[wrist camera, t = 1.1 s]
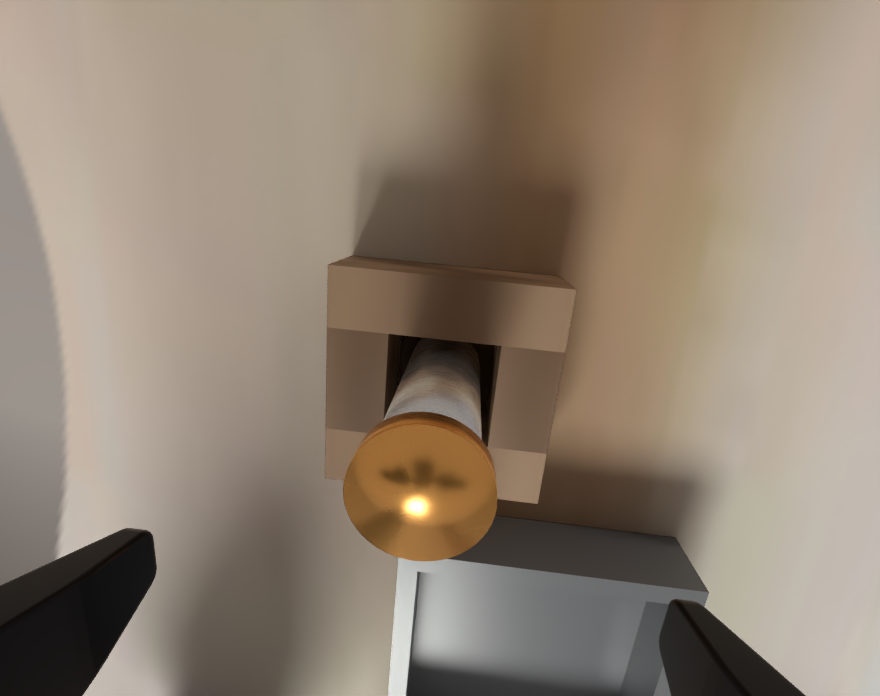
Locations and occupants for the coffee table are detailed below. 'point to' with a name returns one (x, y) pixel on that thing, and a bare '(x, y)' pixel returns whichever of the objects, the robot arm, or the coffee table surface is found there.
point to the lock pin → (426, 461)
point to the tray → (539, 614)
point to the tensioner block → (456, 319)
